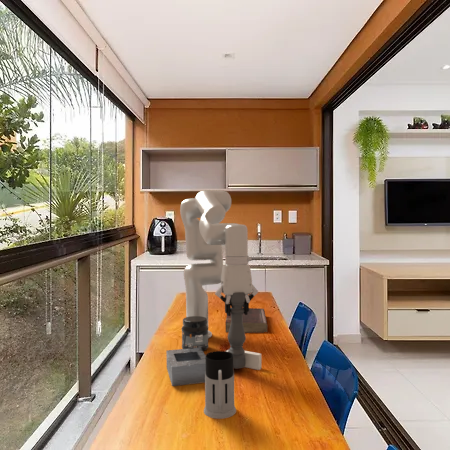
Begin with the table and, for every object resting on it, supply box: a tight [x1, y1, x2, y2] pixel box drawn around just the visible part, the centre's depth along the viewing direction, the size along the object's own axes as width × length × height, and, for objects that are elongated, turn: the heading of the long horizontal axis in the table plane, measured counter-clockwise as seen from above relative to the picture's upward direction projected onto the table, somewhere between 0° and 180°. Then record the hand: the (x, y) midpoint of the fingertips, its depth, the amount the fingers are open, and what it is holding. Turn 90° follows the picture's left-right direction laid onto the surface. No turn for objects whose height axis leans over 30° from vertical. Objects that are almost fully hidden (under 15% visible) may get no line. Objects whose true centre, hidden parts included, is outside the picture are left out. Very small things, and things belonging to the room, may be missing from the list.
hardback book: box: [225, 307, 268, 333], centre depth 199 cm, size 29×19×5 cm, turn 177°
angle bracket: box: [225, 349, 262, 371], centre depth 143 cm, size 10×17×5 cm, turn 104°
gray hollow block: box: [166, 347, 206, 387], centre depth 136 cm, size 16×12×6 cm
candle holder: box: [227, 293, 246, 369], centre depth 139 cm, size 6×6×25 cm
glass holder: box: [203, 350, 237, 420], centre depth 108 cm, size 9×14×15 cm, turn 2°
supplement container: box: [181, 316, 209, 352], centre depth 162 cm, size 10×10×12 cm
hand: (236, 313), depth 139 cm, fingers closed on candle holder, 5 cm apart
